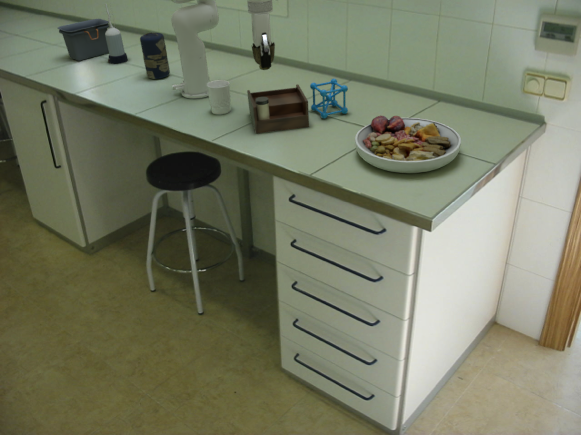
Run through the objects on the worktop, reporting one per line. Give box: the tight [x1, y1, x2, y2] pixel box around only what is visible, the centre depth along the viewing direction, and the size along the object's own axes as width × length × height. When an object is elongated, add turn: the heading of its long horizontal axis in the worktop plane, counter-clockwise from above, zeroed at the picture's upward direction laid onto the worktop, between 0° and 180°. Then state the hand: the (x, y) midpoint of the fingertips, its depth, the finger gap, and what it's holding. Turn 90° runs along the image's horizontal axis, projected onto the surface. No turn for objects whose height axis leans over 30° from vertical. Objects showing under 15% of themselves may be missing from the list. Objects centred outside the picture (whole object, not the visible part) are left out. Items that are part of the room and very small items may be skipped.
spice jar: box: [255, 97, 270, 121], centre depth 191 cm, size 4×4×7 cm
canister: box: [139, 32, 171, 80], centre depth 241 cm, size 10×10×18 cm
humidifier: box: [104, 2, 129, 65], centre depth 260 cm, size 8×8×25 cm
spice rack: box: [246, 83, 310, 135], centre depth 197 cm, size 18×16×9 cm
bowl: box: [354, 115, 462, 174], centre depth 172 cm, size 30×30×8 cm
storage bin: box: [57, 18, 110, 62], centre depth 272 cm, size 21×16×14 cm
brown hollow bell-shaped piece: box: [250, 41, 276, 71], centre depth 189 cm, size 8×7×8 cm
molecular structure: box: [309, 78, 349, 120], centre depth 201 cm, size 10×10×10 cm
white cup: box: [207, 79, 232, 115], centre depth 207 cm, size 8×8×10 cm
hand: (264, 63), depth 190 cm, fingers closed on brown hollow bell-shaped piece, 7 cm apart
